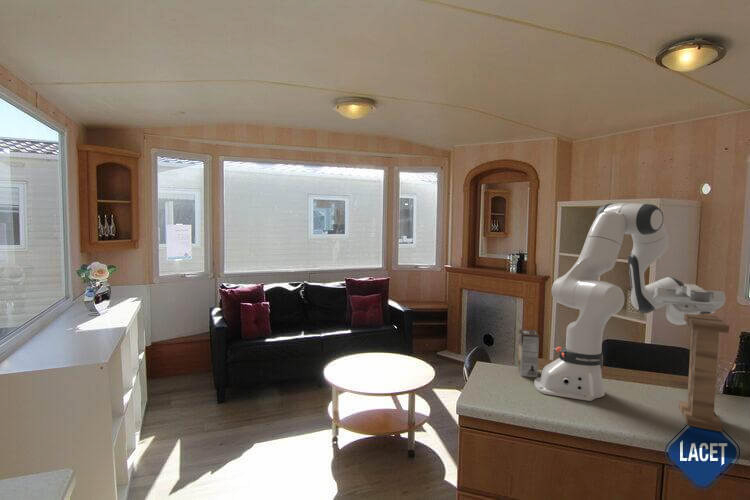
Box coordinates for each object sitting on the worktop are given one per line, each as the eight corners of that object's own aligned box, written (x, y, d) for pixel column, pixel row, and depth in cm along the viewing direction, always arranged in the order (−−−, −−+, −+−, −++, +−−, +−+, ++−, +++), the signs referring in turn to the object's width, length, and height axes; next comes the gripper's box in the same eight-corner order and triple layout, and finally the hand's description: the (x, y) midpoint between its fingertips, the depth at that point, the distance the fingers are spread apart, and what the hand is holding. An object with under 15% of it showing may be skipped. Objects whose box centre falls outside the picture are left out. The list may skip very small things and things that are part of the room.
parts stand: (722, 431, 120) (729, 325, 118) (687, 425, 123) (693, 322, 121) (710, 412, 132) (716, 316, 130) (679, 407, 136) (684, 313, 134)
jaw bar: (711, 302, 130) (712, 293, 130) (691, 301, 133) (692, 291, 132) (697, 293, 148) (698, 284, 148) (680, 291, 151) (680, 283, 150)
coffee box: (517, 368, 171) (518, 328, 170) (534, 369, 169) (535, 329, 168) (520, 376, 162) (521, 334, 161) (538, 377, 160) (539, 335, 159)
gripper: (650, 292, 162) (655, 278, 151) (718, 297, 153) (728, 282, 142) (651, 308, 160) (655, 294, 149) (719, 314, 150) (730, 299, 139)
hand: (692, 288), depth 145 cm, fingers closed on jaw bar, 3 cm apart
